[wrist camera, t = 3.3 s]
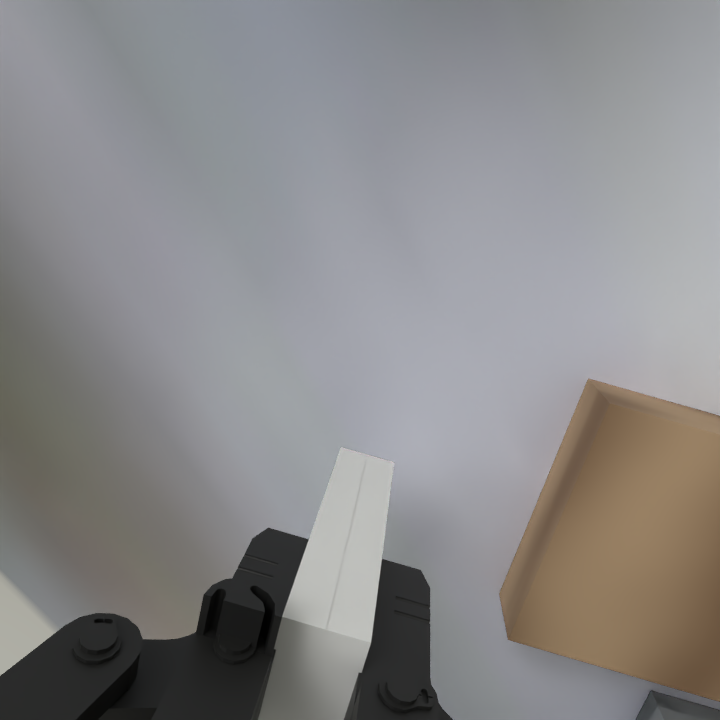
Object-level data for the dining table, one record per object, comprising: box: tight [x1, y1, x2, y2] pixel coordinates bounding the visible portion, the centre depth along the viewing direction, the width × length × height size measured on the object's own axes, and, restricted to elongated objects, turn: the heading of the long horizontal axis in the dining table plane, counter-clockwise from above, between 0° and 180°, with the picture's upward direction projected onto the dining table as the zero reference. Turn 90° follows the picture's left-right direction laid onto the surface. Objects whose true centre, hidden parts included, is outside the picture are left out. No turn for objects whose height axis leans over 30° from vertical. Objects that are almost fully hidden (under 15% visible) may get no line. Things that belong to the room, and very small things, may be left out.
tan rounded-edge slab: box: [499, 379, 720, 702], centre depth 18 cm, size 10×8×2 cm
